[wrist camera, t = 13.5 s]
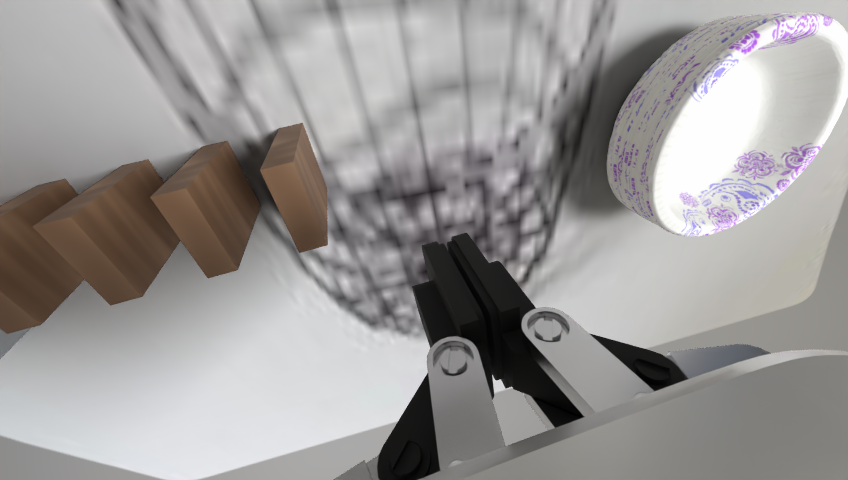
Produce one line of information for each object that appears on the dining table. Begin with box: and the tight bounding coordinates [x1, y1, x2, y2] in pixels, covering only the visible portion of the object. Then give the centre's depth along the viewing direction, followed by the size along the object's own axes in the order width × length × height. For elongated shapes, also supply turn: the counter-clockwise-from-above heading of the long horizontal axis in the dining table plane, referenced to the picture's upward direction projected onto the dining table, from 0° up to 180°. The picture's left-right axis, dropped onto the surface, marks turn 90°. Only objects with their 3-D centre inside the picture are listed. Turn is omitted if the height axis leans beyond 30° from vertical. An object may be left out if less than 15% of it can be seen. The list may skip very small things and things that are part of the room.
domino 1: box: [0, 179, 84, 334], centre depth 19 cm, size 2×5×8 cm, turn 10°
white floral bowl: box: [607, 12, 848, 237], centre depth 26 cm, size 15×15×8 cm
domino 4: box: [260, 123, 328, 253], centre depth 21 cm, size 2×5×8 cm, turn 9°
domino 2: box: [32, 160, 181, 305], centre depth 20 cm, size 2×5×8 cm, turn 10°
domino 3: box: [150, 141, 261, 278], centre depth 20 cm, size 2×5×8 cm, turn 10°
